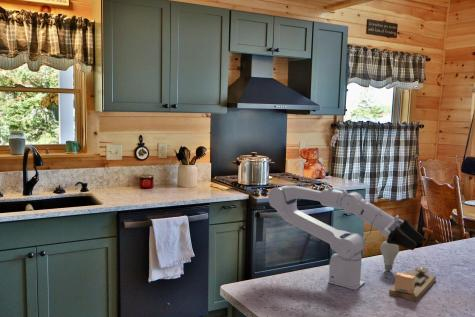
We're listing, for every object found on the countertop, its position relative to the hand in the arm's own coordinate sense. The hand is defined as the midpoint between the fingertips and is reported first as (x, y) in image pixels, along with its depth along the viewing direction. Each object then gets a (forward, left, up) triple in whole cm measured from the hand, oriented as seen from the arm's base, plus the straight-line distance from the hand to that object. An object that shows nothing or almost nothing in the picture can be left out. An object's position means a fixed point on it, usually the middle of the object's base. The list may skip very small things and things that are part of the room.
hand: (418, 243), depth 130 cm
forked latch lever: (-3, +7, -15) cm, 17 cm away
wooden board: (-3, +10, -17) cm, 20 cm away
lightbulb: (-14, +19, -17) cm, 30 cm away
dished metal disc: (-3, +19, -16) cm, 25 cm away
